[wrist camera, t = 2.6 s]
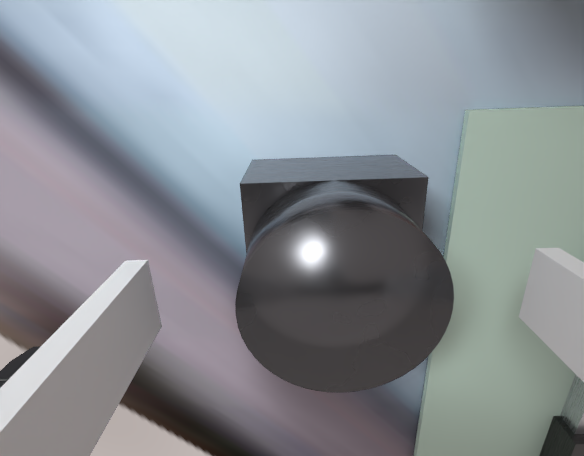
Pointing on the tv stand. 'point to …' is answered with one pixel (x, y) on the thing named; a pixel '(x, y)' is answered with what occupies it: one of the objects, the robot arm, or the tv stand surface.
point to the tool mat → (503, 283)
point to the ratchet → (567, 425)
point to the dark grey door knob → (340, 271)
